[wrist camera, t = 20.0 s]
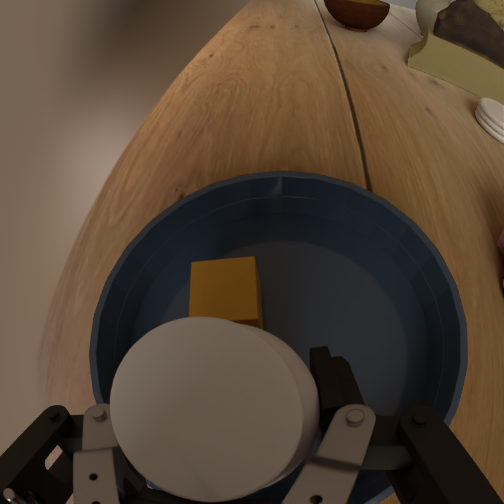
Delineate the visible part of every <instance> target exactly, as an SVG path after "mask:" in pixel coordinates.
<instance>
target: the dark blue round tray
mask: <svg viewBox="0 0 504 504" xmlns="http://www.w3.org/2000/svg"><path fill="white" fill-rule="evenodd" d="M251 256H254V257H255V260H256V265H257V269H258V274H259V279H260V284H261V300H262V316H263V330H264V331H266V332H268V333H270V334H272V335H274V336H276V337H277V338H279V339H280V340H282V341H283V342H285V343H286V344H287V345H288V346H290V347H291V348H292V349H293V350H294V351H295V352H296V353H297V355H298V356H299V357H300V358H301V360H302V361H303V362H304V363H305V365H306V366H307V368H308V369H309V371H310V357H309V351H310V348H312V347H321V346H328V348H329V351H330V354H331V357H336V356H342V357H343V358H344V359H345V360H347V361H348V362H349V364H350V367H351V369H352V372H353V374H354V377H355V379H356V382H357V385H358V387H359V390H360V392H361V395H362V398H363V400H364V403H365V405H366V406H368V407H369V408H371V409H372V410H373V411H374V413H375V414H378V415H382V416H401V414H402V413H403V411H404V410H405V409H407V408H409V407H411V406H414V405H425V406H429V407H431V408H433V409H434V410H435V411H436V412H437V413H438V414H439V416H440V417H441V418H442V420H443V421H444V422H445V423H446V425H447V426H448V427H449V425H450V423H451V421H452V419H453V417H454V415H455V413H456V411H457V408H458V405H459V401H460V397H461V393H462V389H463V385H464V380H465V376H466V371H467V363H468V347H467V323H466V318H465V314H464V310H463V306H462V303H461V299H460V295H459V292H458V288H457V285H456V283H455V281H454V279H453V277H452V275H451V273H450V271H449V269H448V267H447V265H446V263H445V261H444V260H443V258H442V256H441V254H440V252H439V251H438V249H437V248H436V247H435V245H434V244H433V243H432V242H431V241H430V239H429V238H428V237H427V236H426V235H425V234H424V232H423V231H422V230H421V229H420V228H419V227H418V226H417V224H416V223H415V222H413V220H411V219H410V218H409V217H407V216H406V215H405V214H404V213H402V212H401V211H400V210H398V209H397V208H396V207H394V206H393V205H392V204H390V203H389V202H388V201H386V200H385V199H384V198H382V197H380V196H378V195H376V194H374V193H372V192H370V191H368V190H365V189H363V188H361V187H359V186H357V185H355V184H353V183H352V184H351V183H350V182H346V181H343V180H339V179H336V178H332V177H328V176H324V175H320V174H315V173H304V172H292V171H273V172H263V173H253V174H246V175H241V176H238V177H234V178H231V179H227V180H224V181H220V182H217V183H213V184H211V185H208V186H206V187H204V188H202V189H200V190H198V191H196V192H194V193H192V194H190V195H188V196H186V197H184V198H182V199H180V200H178V201H177V202H175V203H174V204H173V205H171V206H170V207H169V208H167V209H166V210H164V211H163V212H162V213H160V214H159V215H158V216H156V217H155V218H154V219H152V220H151V222H149V223H148V224H147V225H146V226H145V227H144V229H143V230H142V231H141V232H140V233H139V234H138V235H137V236H136V237H135V238H134V239H133V240H132V242H131V243H130V244H129V245H128V246H127V247H126V249H125V250H124V251H123V253H122V255H121V256H120V258H119V259H118V261H117V263H116V264H115V266H114V268H113V269H112V271H111V273H110V274H109V276H108V278H107V280H106V282H105V285H104V287H103V290H102V293H101V296H100V299H99V301H98V304H97V307H96V310H95V313H94V317H93V324H92V332H91V340H90V350H89V360H90V371H91V380H92V388H93V394H94V397H95V400H96V403H97V404H101V403H105V402H106V401H107V399H108V398H109V396H110V395H111V389H112V384H113V380H114V377H115V374H116V372H117V369H118V367H119V365H120V363H121V362H122V360H123V358H124V357H125V355H126V354H127V352H128V351H129V350H130V348H131V347H132V346H133V345H134V344H135V343H136V342H137V341H138V340H140V339H141V338H142V337H143V336H144V335H145V334H147V333H148V332H150V331H151V330H153V329H154V328H156V327H158V326H161V325H163V324H165V323H168V322H170V321H173V320H177V319H181V318H186V317H189V302H190V281H191V264H192V262H198V261H208V260H219V259H230V258H240V257H251ZM319 446H320V444H319V438H318V432H317V435H316V438H315V441H314V443H313V445H312V447H311V449H310V451H309V452H308V454H307V455H306V457H305V458H304V460H303V461H302V462H301V463H300V464H299V465H298V467H296V468H295V469H294V470H293V471H292V472H291V473H290V474H288V475H287V476H286V477H284V478H283V479H281V480H279V481H278V482H276V483H274V484H272V485H270V486H268V487H265V488H262V489H260V490H258V491H256V492H254V493H252V494H250V495H247V496H245V497H242V498H238V499H270V502H271V504H281V503H282V502H283V500H284V499H285V497H286V495H287V494H288V492H289V491H290V489H291V487H292V486H293V484H294V483H295V481H296V479H297V477H298V476H299V474H300V472H301V471H302V469H303V467H304V465H305V464H306V462H307V461H308V460H309V459H310V458H313V457H314V456H315V454H316V452H317V450H318V448H319ZM145 479H146V478H145ZM146 483H147V484H148V485H149V486H151V487H152V488H153V489H156V490H161V491H164V490H162V489H160V488H159V487H157V486H156V485H154V484H153V483H151V482H150V481H148V480H147V479H146ZM394 492H395V491H394V489H393V487H392V485H391V483H390V480H389V478H388V476H387V474H386V472H385V470H364V469H361V470H360V472H359V475H358V478H357V480H356V483H355V485H354V488H353V490H352V492H351V495H350V497H349V499H348V502H347V504H378V503H379V502H381V501H382V500H384V499H385V498H387V497H388V496H390V495H391V494H393V493H394ZM193 501H194V500H193ZM196 502H199V503H208V502H200V501H196Z"/></svg>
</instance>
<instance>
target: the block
mask: <svg viewBox="0 0 504 504" xmlns="http://www.w3.org/2000/svg"><path fill="white" fill-rule="evenodd" d="M189 317H215V318H220V319H226V320H229V321H232V322H235V323H238V324H244V325H249V326H253V327H256V328H259V329H262V330H263V316H262V300H261V284H260V279H259V274H258V269H257V265H256V260H255V257H254V256H251V257H240V258H230V259H219V260H208V261H198V262H192V264H191V281H190V302H189Z"/></svg>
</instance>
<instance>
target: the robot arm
mask: <svg viewBox="0 0 504 504" xmlns="http://www.w3.org/2000/svg"><path fill="white" fill-rule="evenodd" d="M309 357H310V373H311V375H312V377H313V379H314V381H315V384H316V387H317V390H318V394H319V400H320V422H319V427H318V438H319V444H320V446H319V448H318V450H317V452H316V454H315V456H314V457H313V458H310V459H309V460H308V461H307V462H306V464H305V465H304V467H303V469H302V471H301V472H300V474H299V476H298V477H297V479H296V481H295V483H294V484H293V486H292V487H291V489H290V491H289V492H288V494H287V495H286V497H285V499H284V500H283V502H282V503H281V504H347V502H348V499H349V497H350V495H351V492H352V490H353V488H354V485H355V483H356V480H357V478H358V475H359V472H360V470H361V469H364V470H385V472H386V474H387V476H388V478H389V480H390V483H391V485H392V487H393V489H394V491H395V493H396V495H397V497H398V499H399V501H400V503H401V504H504V503H503V502H502V500H501V499H500V497H499V496H498V494H497V493H496V492H495V490H494V489H493V487H492V486H491V484H490V483H489V481H488V480H487V479H486V477H485V476H484V474H483V473H482V472H481V470H480V469H479V467H478V466H477V465H476V463H475V462H474V461H473V459H472V458H471V456H470V455H469V454H468V452H467V451H466V450H465V448H464V447H463V446H462V444H461V443H460V442H459V440H458V439H457V438H456V436H455V435H454V434H453V433H452V431H451V430H450V429H449V427H448V426H447V425H446V423H445V422H444V421H443V420H442V418H441V417H440V416H439V414H438V413H437V412H436V411H435V410H434V409H433V408H431V407H429V406H425V405H414V406H411V407H409V408H407V409H405V410H404V411H403V413H402V414H401V416H382V415H378V414H375V413H374V411H373V410H372V409H371V408H369V407H368V406H366V405H365V403H364V400H363V398H362V395H361V392H360V390H359V387H358V385H357V382H356V379H355V377H354V374H353V372H352V369H351V367H350V364H349V362H348V361H347V360H345V359H344V358H343V357H342V356H336V357H331V354H330V351H329V348H328V346H321V347H312V348H310V351H309ZM57 445H58V446H59V447H60V448H61V450H62V451H63V452H62V454H61V455H60V456H59V457H58V459H57V460H56V461H55V462H54V464H53V465H52V466H51V467H50V468H49V470H47V469H46V467H45V460H46V458H47V457H48V456H49V454H50V453H51V452H52V451H53V450H54V448H55V447H56V446H57ZM72 493H73V495H74V504H271V502H270V499H234V500H230V501H223V502H208V503H199V502H196V501H193V500H190V499H185V498H181V497H178V496H176V495H173V494H170V493H168V492H166V491H161V490H156V489H151V488H148V487H147V483H146V479H145V477H144V476H143V475H142V474H140V473H139V472H138V471H137V470H136V469H135V468H134V466H133V465H132V464H131V463H130V461H129V460H128V459H127V457H126V456H125V454H124V452H123V451H122V449H121V447H120V445H119V443H118V441H117V438H116V436H115V433H114V430H113V426H112V420H111V415H110V396H109V398H108V399H107V401H106V402H105V403H101V404H96V405H93V406H91V407H90V408H89V409H88V410H87V411H86V412H85V414H84V415H70V414H69V412H68V411H67V409H66V408H65V407H64V406H61V405H54V406H51V407H49V408H47V409H46V410H45V411H43V412H42V414H41V415H40V416H39V417H38V418H37V419H36V420H35V421H34V422H33V423H32V424H31V425H30V426H29V427H28V428H27V429H26V430H25V431H24V432H23V433H22V434H21V435H20V436H19V437H18V438H17V439H16V441H15V442H14V443H13V444H12V445H11V446H10V447H9V448H8V449H7V450H6V451H5V452H4V453H3V454H2V455H1V456H0V504H65V503H66V502H67V501H68V499H69V498H70V496H71V495H72Z"/></svg>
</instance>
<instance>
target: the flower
mask: <svg viewBox="0 0 504 504" xmlns="http://www.w3.org/2000/svg"><path fill="white" fill-rule="evenodd" d="M497 245H498V248H499V250H500V251H501V252H502V253H503V254H504V230H503V231H502V233H501V235H500V237H499V239H498V242H497ZM503 286H504V281H503Z"/></svg>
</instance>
